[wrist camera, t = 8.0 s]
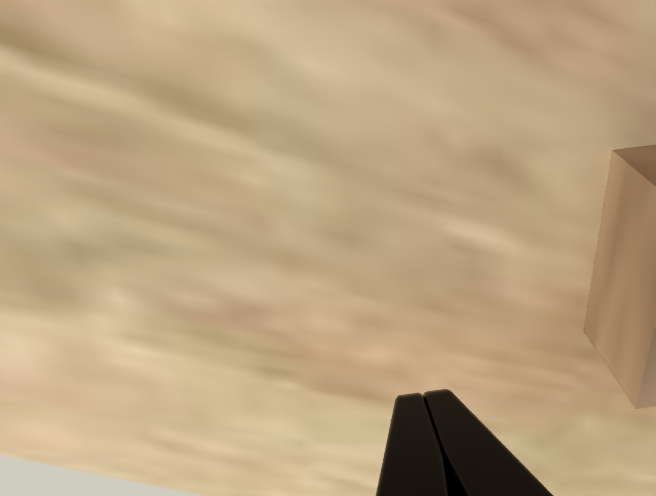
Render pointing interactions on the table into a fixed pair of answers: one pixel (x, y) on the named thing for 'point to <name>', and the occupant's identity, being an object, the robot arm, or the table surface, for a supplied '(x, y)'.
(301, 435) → the table surface
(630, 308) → the walnut block
